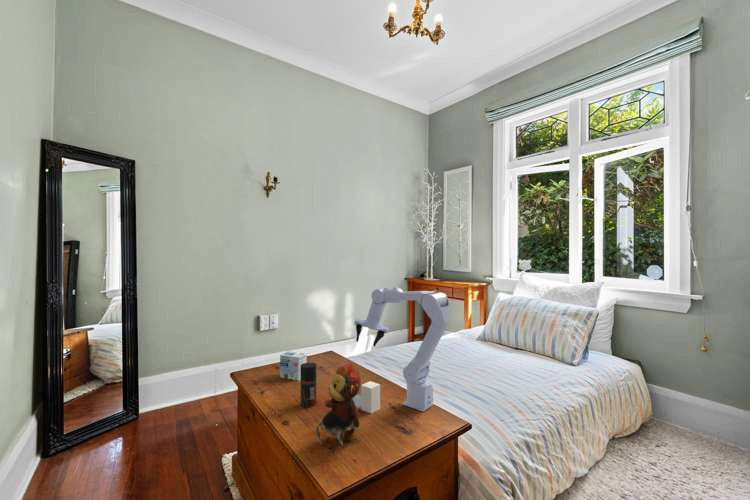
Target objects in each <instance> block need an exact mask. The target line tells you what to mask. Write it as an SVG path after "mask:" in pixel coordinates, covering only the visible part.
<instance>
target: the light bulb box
mask: <svg viewBox="0 0 750 500" xmlns="http://www.w3.org/2000/svg"><path fill="white" fill-rule="evenodd" d="M307 356H308V355H307V353H305V352H298V351H290V350H289V351H286V352H284V353H282V354H280V355H279V359H280V360H279V378H280V377H281V378H280V379H285V378H287V380H290V379H292V381H296V380H297V381H296V382H300V381H301V364H304V363H308V362H307V358H308V357H307Z"/></svg>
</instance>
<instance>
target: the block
mask: <svg viewBox="0 0 750 500" xmlns="http://www.w3.org/2000/svg"><path fill="white" fill-rule="evenodd" d="M360 396H361V408H360V409H361V411H364V412H366V413H370V414H374V413H375V412H377V411H379V410H380V409H381V384H380V383H377V382H374V381H371V380H370V381H367V382H365V383H363V384H360Z"/></svg>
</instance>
